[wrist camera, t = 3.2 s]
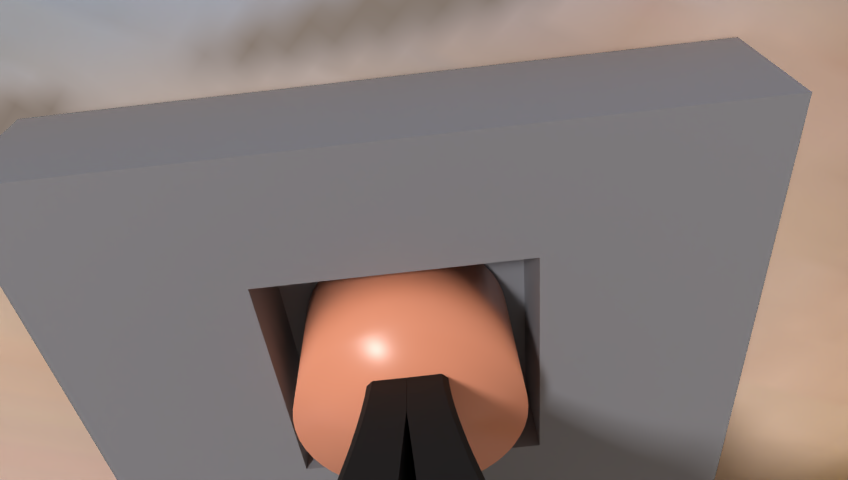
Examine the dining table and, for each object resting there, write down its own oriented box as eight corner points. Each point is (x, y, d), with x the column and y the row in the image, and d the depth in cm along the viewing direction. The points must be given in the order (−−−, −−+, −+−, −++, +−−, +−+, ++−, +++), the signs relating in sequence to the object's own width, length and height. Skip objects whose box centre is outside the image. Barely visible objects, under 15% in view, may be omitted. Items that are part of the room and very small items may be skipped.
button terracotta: (326, 398, 15) (317, 499, 13) (286, 251, 13) (268, 345, 11) (509, 378, 15) (529, 477, 13) (503, 228, 13) (527, 318, 11)
